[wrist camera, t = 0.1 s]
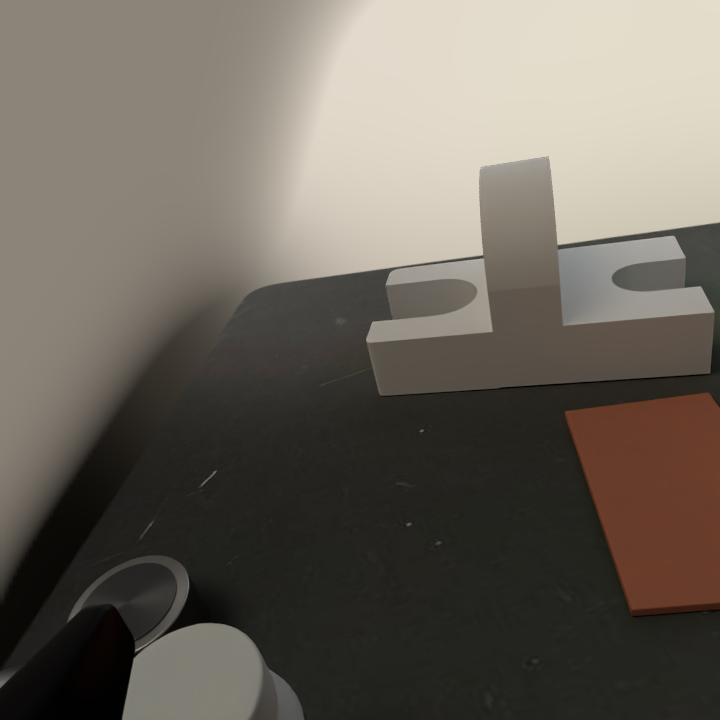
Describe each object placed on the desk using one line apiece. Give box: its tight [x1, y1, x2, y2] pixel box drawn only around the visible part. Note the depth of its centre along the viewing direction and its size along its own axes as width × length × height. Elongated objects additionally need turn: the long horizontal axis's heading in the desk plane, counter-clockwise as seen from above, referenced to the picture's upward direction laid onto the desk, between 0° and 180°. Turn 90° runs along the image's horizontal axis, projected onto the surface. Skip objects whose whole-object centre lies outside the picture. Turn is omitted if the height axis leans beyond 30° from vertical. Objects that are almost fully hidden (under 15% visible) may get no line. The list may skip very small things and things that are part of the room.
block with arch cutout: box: [366, 157, 714, 396], centre depth 38 cm, size 18×10×11 cm, turn 79°
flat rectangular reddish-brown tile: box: [565, 393, 720, 616], centre depth 28 cm, size 12×7×1 cm, turn 176°
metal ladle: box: [0, 555, 210, 688], centre depth 21 cm, size 13×5×11 cm, turn 176°
